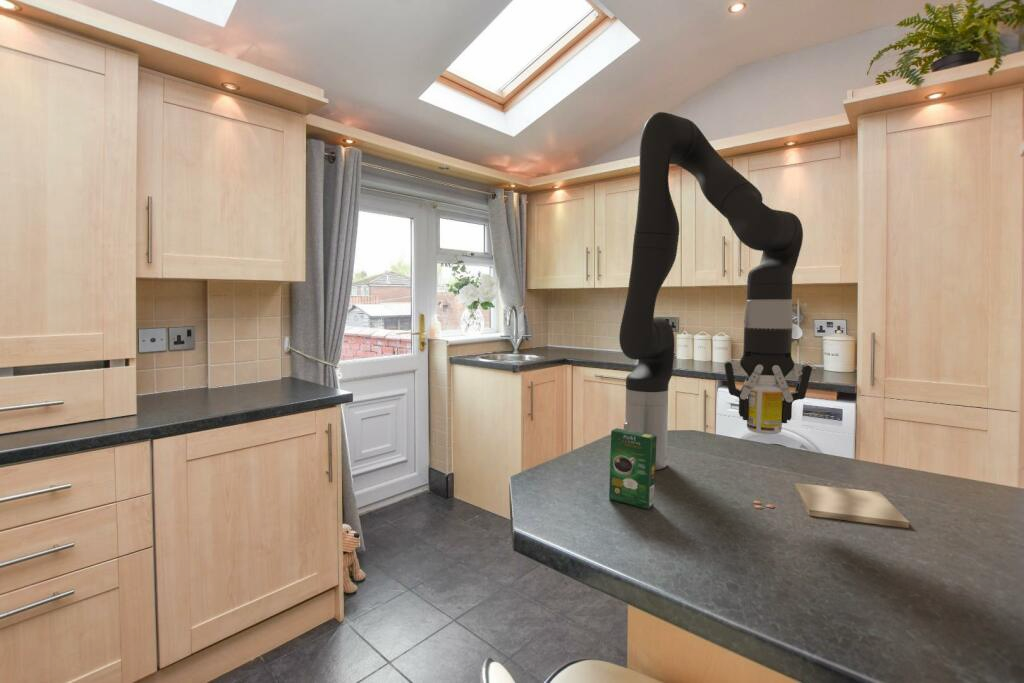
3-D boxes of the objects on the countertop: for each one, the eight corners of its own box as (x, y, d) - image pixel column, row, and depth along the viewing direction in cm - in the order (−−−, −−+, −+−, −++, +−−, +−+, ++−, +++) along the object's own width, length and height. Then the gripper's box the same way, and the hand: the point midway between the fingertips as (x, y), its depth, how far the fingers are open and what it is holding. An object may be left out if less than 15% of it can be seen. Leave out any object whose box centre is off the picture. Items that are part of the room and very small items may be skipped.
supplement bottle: (787, 431, 88) (789, 374, 87) (773, 436, 85) (775, 377, 84) (755, 426, 92) (757, 371, 92) (740, 430, 89) (742, 373, 88)
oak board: (809, 515, 85) (809, 509, 85) (794, 487, 98) (794, 482, 98) (908, 528, 80) (909, 522, 80) (879, 497, 93) (879, 492, 93)
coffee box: (656, 505, 89) (657, 433, 88) (650, 511, 87) (651, 436, 86) (615, 495, 94) (616, 427, 93) (608, 500, 92) (609, 430, 91)
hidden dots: (754, 508, 88) (754, 507, 88) (752, 500, 92) (752, 500, 91) (776, 510, 87) (776, 510, 87) (773, 503, 90) (773, 502, 90)
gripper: (724, 326, 86) (721, 422, 87) (819, 327, 81) (815, 429, 82) (722, 324, 93) (719, 413, 94) (810, 325, 88) (806, 419, 89)
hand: (764, 420), depth 88 cm, fingers closed on supplement bottle, 5 cm apart
